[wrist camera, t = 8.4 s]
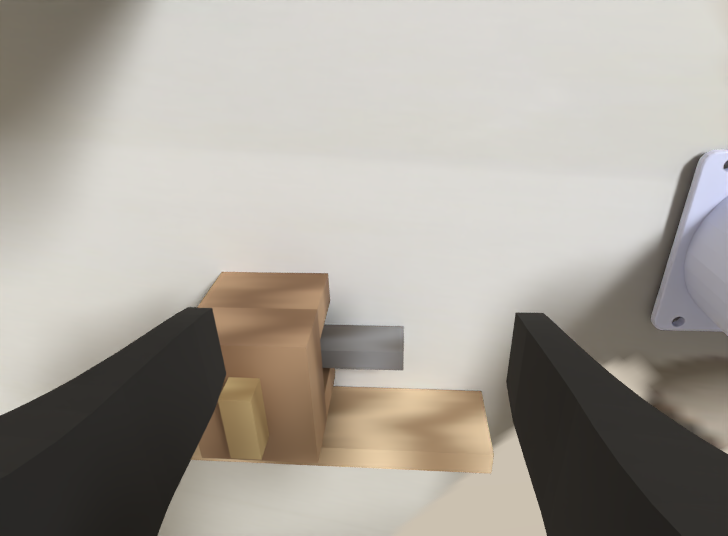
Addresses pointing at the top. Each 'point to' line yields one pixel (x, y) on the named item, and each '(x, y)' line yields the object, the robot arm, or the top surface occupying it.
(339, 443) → the cleat board
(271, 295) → the cabinet block
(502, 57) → the top surface
